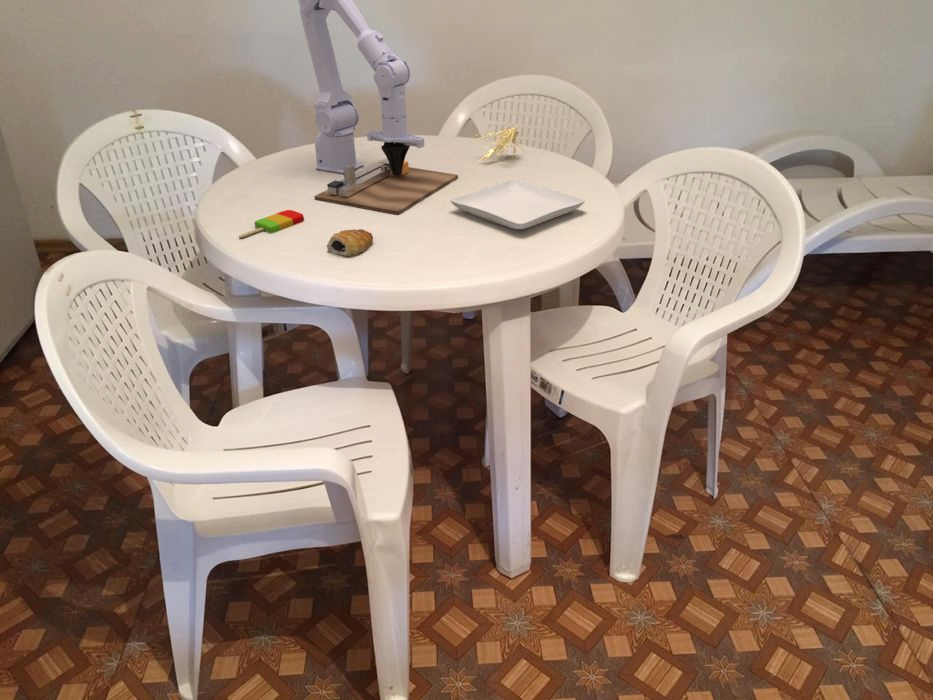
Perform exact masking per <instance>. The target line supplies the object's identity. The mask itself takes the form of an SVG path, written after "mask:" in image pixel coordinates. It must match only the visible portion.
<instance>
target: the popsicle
mask: <svg viewBox="0 0 933 700" xmlns="http://www.w3.org/2000/svg"><path fill="white" fill-rule="evenodd" d="M304 221H305V217H304V214H303V213H302V212H298V211H296V210H291V209H287V210H285V209H284V210H281V211H280V212H277V213H274V214H272V215H268V216H266V217H262V218H260V219H257V220H254V227H255V229H253V230H251V231H248V232H245V233H241V234H238V238H240V239H242V238H245V237H248V236H251V235H254V234H257V233H259V232H267V233H269V234H274V233H277V232H280V231H282V230H285V229H287V228H290V227H293V226H295V225H298V224H300V223H303V222H304Z"/></svg>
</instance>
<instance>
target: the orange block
mask: <svg viewBox="0 0 933 700" xmlns="http://www.w3.org/2000/svg"><path fill="white" fill-rule="evenodd" d="M408 171H409V161H407V160H404V163H403V168H402V173H401V175H403V174H405V173H407V172H408Z"/></svg>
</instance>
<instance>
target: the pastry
mask: <svg viewBox="0 0 933 700" xmlns="http://www.w3.org/2000/svg"><path fill="white" fill-rule="evenodd" d="M373 241H374V236H373V233H372V232H369V231H368V230H365V229H363V228H361V229H360V228H359V229H344V230H340V231H339V232H337V233H333V235H332V236H331V237H330V238H329V240H328V243H327V244H326V249H327V250H328V251H329V253H331V254H333V255H340V256H343V257H354V256H357V255H359V254H360V253H364V252H365V251H366V250H367V249H368V248H370V247H372V245H373Z"/></svg>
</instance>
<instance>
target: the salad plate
mask: <svg viewBox="0 0 933 700" xmlns="http://www.w3.org/2000/svg"><path fill="white" fill-rule="evenodd" d="M450 203H451V204H452V205H453V206H454V207H456V208H457V209H459V210H461V211H463V212H465V213H468V214H472V215H473V216H476V217H478V218H481V219H483V220H486V221H489V222H492V223H494V224H498V225H500V226H502V227H505V228H508V229H509V228H510V229H512V228H513V230H519V229H520V230H527V229H528V228H529V227H530V228H532V227H535V226H537V224H538V225H540V224H543V223H545V222H548V221H550V219H551V220H552V219H555V217H556V218H557V217H560V216H562V215H566V214H568V213H571V212H573V211H575V210H577V209H579V208H580V207H581V206H582V205H583V204H585V203H586V201H585V199H582V198H579V197H577V196H573V195H570V194H567V193H565V192H561V191H558V190H555V189H551V188H548V187H546V186H541V185H538V184H535V183H532V182H531V183H530V182H527V181H524V180H520V179H516V178H513V179H510V180H506V181H502V182H499V183H495V184H492V185H489V186H486V187H482V188H480V189H477V190H473V191H470V192H467V193H465V194H460V195H458V196H456V197H452V198H450ZM542 222H543V223H542ZM526 228H527V229H526Z"/></svg>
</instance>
